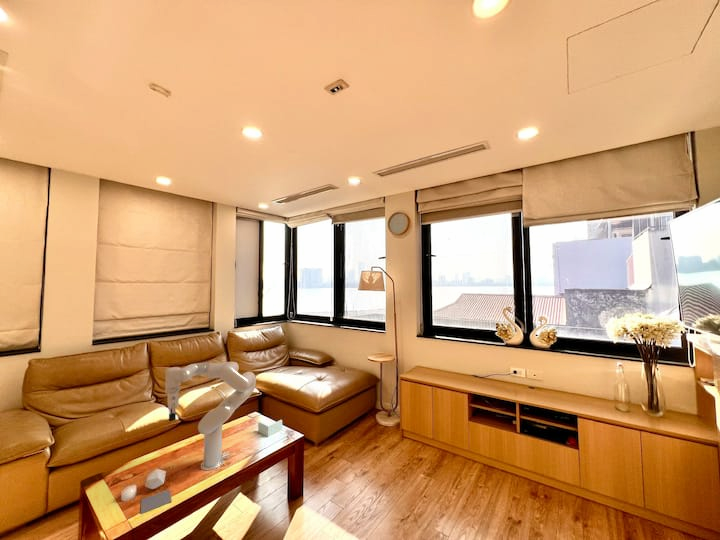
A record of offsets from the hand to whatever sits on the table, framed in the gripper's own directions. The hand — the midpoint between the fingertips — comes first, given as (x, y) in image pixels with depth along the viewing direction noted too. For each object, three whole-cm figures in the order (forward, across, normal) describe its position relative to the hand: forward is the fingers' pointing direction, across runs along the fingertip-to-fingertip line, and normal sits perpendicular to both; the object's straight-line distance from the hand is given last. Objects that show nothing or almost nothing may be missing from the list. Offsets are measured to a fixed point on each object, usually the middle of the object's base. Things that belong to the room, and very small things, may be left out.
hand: (172, 420), depth 169 cm
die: (+27, -16, +8) cm, 33 cm away
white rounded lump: (+27, -15, +19) cm, 36 cm away
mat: (+27, -27, +8) cm, 39 cm away
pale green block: (+27, +4, -61) cm, 67 cm away
